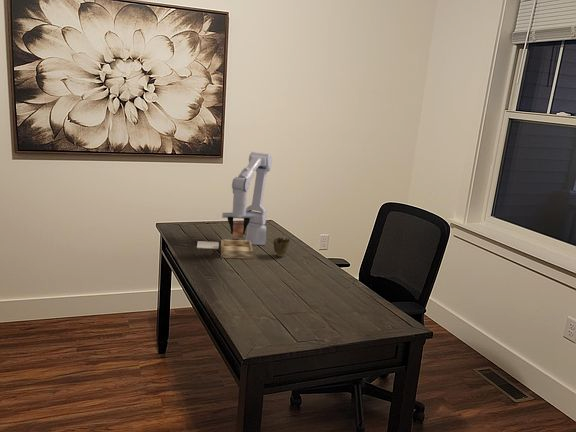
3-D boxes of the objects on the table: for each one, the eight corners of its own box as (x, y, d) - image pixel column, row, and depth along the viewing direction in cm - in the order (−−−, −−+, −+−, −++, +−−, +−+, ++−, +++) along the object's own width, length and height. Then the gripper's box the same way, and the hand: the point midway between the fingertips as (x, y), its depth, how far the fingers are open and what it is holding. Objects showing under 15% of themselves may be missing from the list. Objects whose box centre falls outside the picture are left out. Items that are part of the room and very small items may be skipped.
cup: (269, 256, 240) (270, 240, 238) (275, 252, 246) (277, 236, 244) (284, 259, 237) (286, 242, 235) (290, 255, 244) (292, 239, 242)
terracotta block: (242, 235, 239) (243, 222, 237) (242, 237, 234) (243, 224, 233) (232, 234, 238) (233, 221, 237) (232, 237, 234) (233, 224, 232)
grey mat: (218, 242, 254) (218, 242, 254) (218, 249, 244) (218, 248, 244) (197, 241, 252) (197, 241, 252) (196, 248, 243) (196, 247, 243)
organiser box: (250, 247, 250) (250, 240, 249) (252, 258, 235) (253, 251, 234) (220, 246, 248) (221, 239, 247) (220, 257, 233) (221, 249, 232)
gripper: (223, 205, 228) (221, 235, 231) (256, 207, 230) (254, 237, 233) (222, 201, 235) (221, 231, 238) (255, 203, 237) (253, 232, 240)
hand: (237, 233), depth 236 cm, fingers closed on terracotta block, 4 cm apart
